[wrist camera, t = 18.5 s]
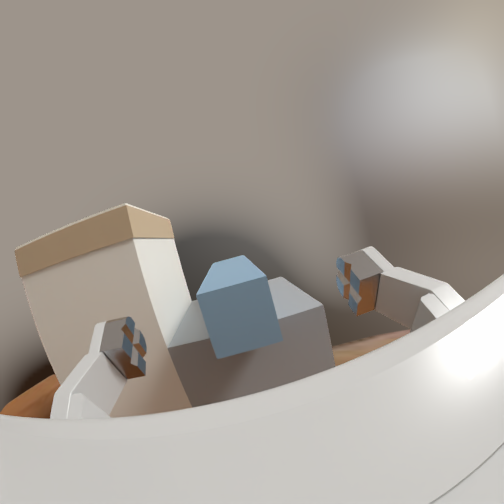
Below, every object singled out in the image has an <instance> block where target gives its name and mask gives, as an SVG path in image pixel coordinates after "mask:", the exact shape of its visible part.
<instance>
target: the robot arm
mask: <svg viewBox="0 0 504 504" xmlns="http://www.w3.org/2000/svg"><path fill="white" fill-rule="evenodd" d="M337 268H338V269H339V272H338V274H337V285H338V289H339V291H340V293H341V295H342V296H343V297H344V298H346V299H348V300H349V306H350V308H351V309H352V311H353V312H354V313H355V315H356V316H358V315H361V314H363V313H366V312H369V311H371V310H374V309H375V310H376V311H377V312H379V313H381V314H383V315H385V316H387V317H389V318H391V319H393V320H394V321H396V322H398V323H400V324H402V325H404V326H406V327H407V328H409V329H411V331H410V333H409V334H407V335H405V336H403V337H401V338H399V339H397V340H395V341H393V342H391V343H389V344H387V345H385V346H383V347H380V348H378V349H376V350H374V351H372V352H369V353H367V354H365V355H363V356H360V357H358V358H356V359H353V360H351V361H348V362H346V363H344V364H341V365H339V366H336V367H334V368H331V369H328V370H326V371H323V372H320V373H318V374H315V375H312V376H309V377H306V378H303V379H301V380H298V381H295V382H292V383H288V384H285V385H282V386H279V387H276V388H272V389H269V390H265V391H262V392H258V393H255V394H251V395H247V396H243V397H239V398H235V399H231V400H227V401H222V402H218V403H213V404H208V405H203V406H198V407H193V408H188V409H182V410H176V411H169V412H163V413H155V414H147V415H138V416H128V417H116V418H112V417H110V416H109V415H110V413H111V411H112V409H113V407H114V405H115V403H116V401H117V399H118V397H119V395H120V393H121V392H122V390H123V388H124V386H125V384H126V382H127V379H132V378H137V377H142V376H146V361H145V360H144V359H143V357H144V356H145V354H146V351H147V347H146V342H145V338H144V336H143V334H142V333H141V331H140V330H138V329H136V328H135V322H134V321H133V319H132V318H131V317H129V316H128V317H123V318H118V319H114V320H109V321H105V322H100V323H97V324H96V325H95V328H94V332H93V336H92V340H91V344H90V348H89V353H88V354H87V355H85V356H84V357H83V358H82V360H81V361H80V362H79V363H78V364H77V366H76V367H75V368H74V369H73V371H72V372H71V373H70V375H69V376H68V377H67V378H66V380H65V381H64V382H63V383H62V385H61V386H60V387H59V389H58V390H57V391H56V393H55V394H54V399H53V404H52V409H51V415H50V419H44V418H28V417H17V416H8V415H2V414H0V504H504V274H503V275H502V276H500V277H499V278H498V279H496V280H495V281H493V282H492V283H491V284H489V285H488V286H487V287H485V288H484V289H482V290H481V291H479V292H478V293H476V294H475V295H473V296H472V297H470V298H469V299H467V300H466V301H465V300H464V299H463V298H462V297H461V296H460V295H459V294H458V293H457V292H456V291H455V290H454V289H453V288H452V287H451V286H450V285H449V284H447V283H446V282H442V281H439V280H437V279H434V278H430V277H427V276H425V275H421V274H418V273H415V272H412V271H409V270H406V269H403V268H400V267H396V268H394V267H393V266H392V265H391V264H390V263H389V262H388V261H387V260H386V259H385V258H384V257H383V256H382V255H381V254H380V253H379V252H378V251H377V250H376V249H375V248H374V247H371V246H370V247H367V248H364V249H361V250H360V251H356V252H353V253H350V254H348V255H344V256H341V257H338V258H337Z"/></svg>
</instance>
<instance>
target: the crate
mask: <svg viewBox="0 0 504 504" xmlns="http://www.w3.org/2000/svg"><path fill="white" fill-rule="evenodd" d="M268 284H269V288H270V292H271V295H272V299H273V303H274V307H275V311H276V314H277V318H278V322H279V326H280V330H281V334H282V337H283V341H281V342H278V343H275V344H271V345H268V346H264V347H261V348H257V349H254V350H250V351H247V352H243V353H239V354H235V355H231V356H228V357H224V358H219V359H217V357H216V354H215V352H214V349H213V346H212V343H211V340H210V337H209V334H208V331H207V328H206V325H205V322H204V319H203V316H202V312H201V309H200V306H199V303H198V300H195V301H192V302H191V304H190V306H189V307H188V309H187V311H186V313H185V315H184V317H183V319H182V321H181V323H180V324H179V326H178V328H177V330H176V332H175V334H174V336H173V338H172V340H171V342H170V344H169V346H168V348H167V349H168V351H169V354H170V356H171V359H172V361H173V364H174V366H175V369H176V371H177V374H178V376H179V378H180V381H181V383H182V386H183V388H184V390H185V392H186V395H187V397H188V399H189V401H190V404H191V406H192V408H193V407H198V406H203V405H208V404H213V403H218V402H222V401H227V400H231V399H235V398H239V397H243V396H247V395H251V394H255V393H258V392H262V391H265V390H269V389H272V388H276V387H279V386H282V385H285V384H288V383H292V382H295V381H298V380H301V379H303V378H306V377H309V376H312V375H315V374H318V373H320V372H323V371H326V370H328V369H331V368H334V367H335V362H334V357H333V351H332V346H331V341H330V336H329V331H328V325H327V321H326V316H325V311H324V307H323V304H321V303H320V302H318V301H317V300H315V299H314V298H312V297H311V296H309V295H308V294H306V293H305V292H303V291H302V290H300V289H299V288H297V287H296V286H295V285H293V284H291V283H290V282H288V281H287V280H286V279H284V278H282V277H278V278H275V279H271V280H268Z"/></svg>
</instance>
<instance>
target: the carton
mask: <svg viewBox="0 0 504 504" xmlns="http://www.w3.org/2000/svg"><path fill="white" fill-rule="evenodd" d="M15 255H16V261H17V266H18V270H19V274H20V277H22V281H23V285H24V289H25V293H26V296H27V300H28V303H29V306H30V309H31V313H32V316H33V319H34V322H35V325H36V328H37V330H38V333H39V336H40V339H41V341H42V344H43V346H44V349H45V351H46V354H47V356H48V359H49V361H50V363H51V365H52V368H53V370H54V372H55V374H56V376H57V378H58V381H59V383H60V385H62V383H63V382H64V381H65V380H66V378H67V377H68V376H69V375H70V373H71V372H72V371H73V369H74V368H75V367H76V366H77V364H78V363H79V362H80V361H81V360H82V358H83V357H84V356H85V355H87V354H88V353H89V348H90V344H91V340H92V336H93V332H94V328H95V325H96V324H97V323H100V322H105V321H109V320H114V319H118V318H123V317H128V316H129V317H131V318H132V319H133V321H134V322H135V328H136V329H138V330H140V331H141V333H142V334H143V336H144V338H145V342H146V347H147V351H146V354H145V356H144V357H143V359H144V360H145V361H146V376H142V377H137V378H132V379H127V382H126V384H125V386H124V388H123V390H122V392H121V393H120V395H119V397H118V399H117V401H116V403H115V405H114V407H113V409H112V411H111V413H110V415H109V416H110V417H112V418H116V417H128V416H138V415H147V414H155V413H163V412H169V411H176V410H182V409H188V408H192V406H191V404H190V401H189V399H188V397H187V395H186V392H185V390H184V388H183V386H182V383H181V381H180V378H179V376H178V374H177V371H176V369H175V366H174V364H173V361H172V359H171V356H170V354H169V351H168V349H167V348H168V346H169V344H170V342H171V340H172V338H173V336H174V334H175V332H176V330H177V328H178V326H179V324H180V323H181V321H182V319H183V317H184V315H185V313H186V311H187V309H188V307H189V306H190V304H191V302H192V301H191V298H190V294H189V291H188V288H187V284H186V281H185V278H184V274H183V271H182V267H181V264H180V260H179V257H178V253H177V250H176V246H175V242H174V234H173V231H172V227H171V223H170V220H169V219H168V218H165V217H163V216H160V215H157V214H154V213H152V212H149V211H146V210H143V209H140V208H138V207H134V206H132V205H129V204H126V203H124V204H121V205H118V206H115V207H113V208H110V209H107V210H104V211H101V212H99V213H96V214H93V215H91V216H88V217H86V218H83V219H81V220H78V221H76V222H73V223H71V224H68V225H66V226H64V227H61V228H59V229H56V230H54V231H52V232H49V233H47V234H45V235H42V236H40V237H38V238H36V239H34V240H31V241H29V242H27V243H25V244H23V245H21V246H19V247H17V248H16V250H15Z"/></svg>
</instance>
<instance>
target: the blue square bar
mask: <svg viewBox="0 0 504 504" xmlns="http://www.w3.org/2000/svg"><path fill="white" fill-rule="evenodd" d="M196 296H197V300H198V303H199V306H200V309H201V312H202V316H203V319H204V322H205V325H206V328H207V331H208V334H209V337H210V340H211V343H212V346H213V349H214V352H215V354H216V357H217V359H219V358H224V357H228V356H231V355H235V354H239V353H243V352H247V351H250V350H254V349H257V348H261V347H264V346H268V345H271V344H275V343H278V342H281V341H283V337H282V334H281V330H280V326H279V322H278V318H277V314H276V311H275V307H274V303H273V299H272V295H271V292H270V288H269V284H268V280H267V277H266V275H265V274H264V273H263V272H262V271H261V270H259V269H258V268H257V267H256V266H255V265H254V264H253V263H252V262H251V261H250V260H248V259H247V258H246V257H245V256H244V255H242V256H238V257H234V258H231V259H227V260H224V261H220V262H216V263H213V264H212V266H211V268H210V270H209V272H208V274H207V275H206V277H205V279H204V281H203V283H202V285H201V287H200V289H199V291H198V292H197V295H196Z"/></svg>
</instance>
